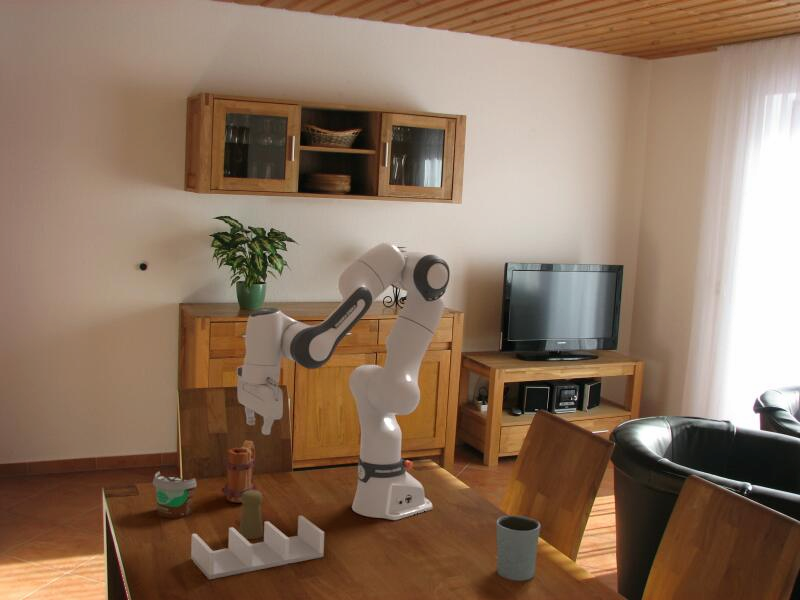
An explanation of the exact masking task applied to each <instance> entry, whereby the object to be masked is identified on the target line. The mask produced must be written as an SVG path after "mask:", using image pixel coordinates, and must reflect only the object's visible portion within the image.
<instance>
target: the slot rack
mask: <svg viewBox="0 0 800 600" xmlns="http://www.w3.org/2000/svg"><path fill="white" fill-rule="evenodd" d="M297 520H298V521H297V535H294V536H289V537H288V536H287V535H286V534H285V533H283V532H282V531H281V530H280V529H278V528H277V527H276V526H275V525H274V524H272V523H271V522H270V521H268V520H267V521H264V524H263V525H264V526H263V528H264V529H263V541H261V542H255V543H251V542H250V541H249V540H248V539H245V538H244V537H243V536H242V535H241V534H240V533H239V530H237V529H236V528H234V526H233V527H229V528H228V548H221V549H218V550H217V549H216V550H213V549H211V547H210V546H209V545H208V544H207V543H206V542H205V541H204V540H203V539H202V538H201V537H200V536H199V535H198V534H197V532H196V533H192V534H191V543H190V544H191V547H190V549H191V550H190V551H191V553H190V560H191V559H192V560H193V563H194V564H195V565H196V566H197V567H198V569H199V570H200V571H201V572H202V573H203V574H204V576H206V578H207V579H208V580H213V579H217V578H218V579H219V578H223V577H228V576H229V577H230V576H232V575H233V576H234V575H237V574H242V573H243V574H244V573H249V572H253V571H258V570H263V569H270V568H273V567H279V566H285V565H288V564H289V563H290V564H294V563H298V562H303V561H311V560H314V559H319V558H320V559H321V558H323V557H324V554H325V553H324V551H325V550H324V549H325V531H323V530H322V529H320V528H319V527H318V526H317V525H315V524H314V523H312V522H311V521H310V520H309V519H307V518H306V517H305V516H303V515H298V518H297ZM192 560H191V561H192ZM290 564H289V565H290Z"/></svg>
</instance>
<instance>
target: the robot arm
mask: <svg viewBox="0 0 800 600" xmlns="http://www.w3.org/2000/svg"><path fill="white" fill-rule="evenodd" d="M450 272H451V271H450V267H449V264H448V263H447V262H446V261H445V259H443V258H441V257H440V256H438V255H436V254H429V253H426V252H423V251H408V250H407V251H406V250H400V249H399V248H398V247H397V246H396V245H394V244H392V243H389V242H382V243H379V244H377V245H375V246H373V247H372V248H371V249H369V250H367V251H366V252H365V253H363V254H361V255H360V256H359V257H357V259H355V260H354V261H353V262H351V263H350V265H348V266H347V267H346V268H345V269H344V271H343V272H342V273H341V275H339V278H338V291H339V293H340V294H341V297H342V300H341V302H340V304H338V306H337V307H335V309H334V310H333V311H332V312H331V313H330V314H329V315H328V316H327V317H326V318H325V319H324V320H323V321H322V322H320V323H318V324H313V325H310V324H307V323H304V322H302V321H298V320H296V319H293V318H292V317H290V316H288V315H286V314H284V313H283V312H282V311H281V310H280V309H279V308H276V307H263V308H258V309H255V310H254V311H252V312H251V313H250V314H249V316H248V318H247V323H246V328H245V329H246V330H245V339H244V346H245V356H244V358H243V359H244V360H243V364H242V365H239V366H237V367H236V375H237V387H236V389H237V400H238V403H239V404H241V405H243V406H244V412H245V416H246V424H247V425H249V426H255V424H256V417H255V413H256V414H258V415H259V416H261V417H263V425H262V426H261V430H260V431H261V433H262V434H263V435H265V436H268V435H271V430H272V426H273V424H274V423H275V421H276V420H282V418H283V416H284V414H283V412H284V411H283V410H284V398H283V397H284V396H283V390H282V388H281V387H279V386H280V385H279V382H280V375H281V374H280V373H281V372H280V371H281V370H280V369H281V360H282V359H288V360H290V361H293V362H295V363H297V364H298V365H300V366H301V367H302V368H305V369H308V370H314V369H319V368H321V367H323V366H325V365H326V364H327V363H328V362H329V360H331V357H333V354H334V352H335V350H336V348H337V346H338V345H339V343H340V342H341V341H342V340H343V339H344V338H345V336H347V334H348V333H350V331H351V330H352V329H353V328H354V327H355V326H356V324H357V323H359V322H360V320H361V319H362V318H363V317H364V316H365V315H366V313H367V312H368V311H369V310H370V308H371V306H372V304H373V302H374V301H376V300H377V298H379V297H380V296H381V295H382V294H383V293H384V292H385V291H386V290H387V289H388V288H389V287H390V286H391V287H393V288H395V289H398V290H402V291H404V292H406V299H405V303H404V306H403V307H402V309H401V310H400V312H399V313H398V316H397V318H396V319H395V321H394V324H393V325H392V328H391V330H390V331H389V333H388V336H387V338H386V339H385V348H386V358H385V361H384V366H380V365H377V364H363V365H359V366H357V367H355V369H354V370H353V371H352V372H351V374H350V376H349V380H348V387H349V389H350V390H349V391H350V392H351V394H352V396H353V399H354V402H355V405H356V410H357V415H358V419H359V420H358V421H359V426H360V449H359V450H360V451H359V457H358V458H357V459H358V460H357V461H358V462H357V463H358V464H357V487H356V492H355V494H354V495H355V496H354V499H353V502H352V506H351V508H352V511H354V512H355V513H356V514H359V515H361V516H363V517H364V516H365V517H369V518H377V519H380V518H381V519H385V520H391V521H397V520H398V521H399V520H400V519H404V518H407V517H411V516H414V514H415V515H418V514H421V513H424V511H425V512H428V511H431V510H433V503H432V502H431V500H429V499H428V498H427V497H425V489H424V487H423V484H422V483H421V482H420V481H419V480H417V478H415V477H413V475H412V474H410V473H409V472H407V470H411V469H413V467H414V466H413V465H414V463H413V462H412V461H410V460H409V459H406V460H405V459H404V458H402V457H401V455H402V429H401V427H400V425H399V423H398V421H397V418H396V416H407V415H410V414H411V413H413V412H414V411H415V410H416V408H417V407H418V406H419V403H420V400H421V391H420V390H421V389H420V388H419V373H420V368H421V364H422V361H423V358H424V356H425V354H426V352H427V349H428V348H429V346H430V343H431V341H432V339H433V338H434V335H435V333H436V331H437V329H438V327H439V325H440V322H441V319H442V315H443V313H444V309H445V304H446V303H445V299H444V297H443V296H444V295H445V293H446V290H447V288H448V286H449V282H450V276H451V273H450ZM406 468H407V470H406ZM417 513H418V514H417Z"/></svg>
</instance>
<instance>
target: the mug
mask: <svg viewBox="0 0 800 600" xmlns="http://www.w3.org/2000/svg"><path fill="white" fill-rule="evenodd" d="M255 460H256V448H255V445H254V441H253V440H244V441H243V444H242V445H241V447H240V448H239V447H233V448H231V449H228V450H227V457H226V460H225V461H224V462H223V463H222V466H223V467H224V468H225V469H226V484H225V485H224V486H223V487H222V488H221V492H222V494H224V495H225V496H226V500H227V501H229V502H231V503H236V504H237V503H238V504H240V503H242V501H241V497H242V494H243V493H244V492H245V491H249V490H255V489H256V485H255V484H253V482H252V481H251V480H252V476H253V472H254V467H255V463H256V461H255Z"/></svg>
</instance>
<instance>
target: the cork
mask: <svg viewBox="0 0 800 600" xmlns="http://www.w3.org/2000/svg"><path fill="white" fill-rule="evenodd" d="M241 501H242V504H241V505H242V512H241V516H240V517H241V518H240V524H239V529H238V532H239V533H240V534H241V535H242V536H243V537H244V538H245V539H246V540H255V539H259V538H262V537H264V529H263V528H264V527H263V521H262V511H261V505H262V504H263V503H262V502H263V494H262V493H261V491H259V490H255V489H253V490H249V491H245V492H244V493H243V494H242V497H241Z"/></svg>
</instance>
